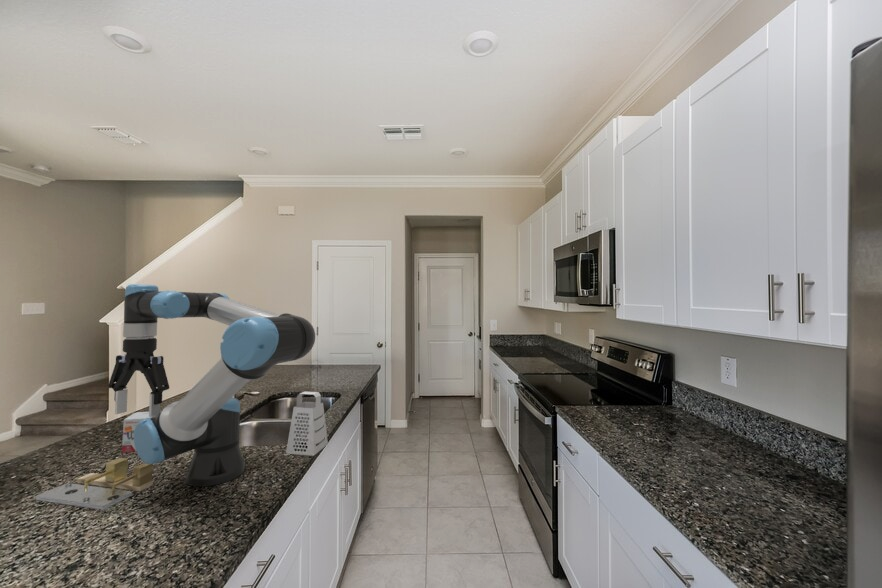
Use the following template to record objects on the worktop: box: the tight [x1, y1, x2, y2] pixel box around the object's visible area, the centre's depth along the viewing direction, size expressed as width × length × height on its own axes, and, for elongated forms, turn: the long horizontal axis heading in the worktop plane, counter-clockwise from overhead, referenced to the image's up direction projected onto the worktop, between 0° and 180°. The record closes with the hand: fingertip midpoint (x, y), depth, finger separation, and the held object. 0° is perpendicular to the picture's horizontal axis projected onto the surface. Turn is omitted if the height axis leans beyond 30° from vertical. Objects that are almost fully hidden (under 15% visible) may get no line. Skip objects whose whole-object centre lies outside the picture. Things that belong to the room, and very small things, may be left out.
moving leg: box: [83, 457, 129, 491], centre depth 100 cm, size 3×10×5 cm, turn 169°
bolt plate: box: [35, 482, 133, 511], centre depth 96 cm, size 22×7×1 cm, turn 79°
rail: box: [76, 462, 154, 495], centre depth 100 cm, size 22×10×6 cm, turn 79°
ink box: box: [121, 410, 162, 454], centre depth 129 cm, size 9×9×12 cm
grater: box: [285, 391, 329, 457], centre depth 130 cm, size 10×10×20 cm
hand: (137, 414), depth 103 cm, fingers open, 11 cm apart
